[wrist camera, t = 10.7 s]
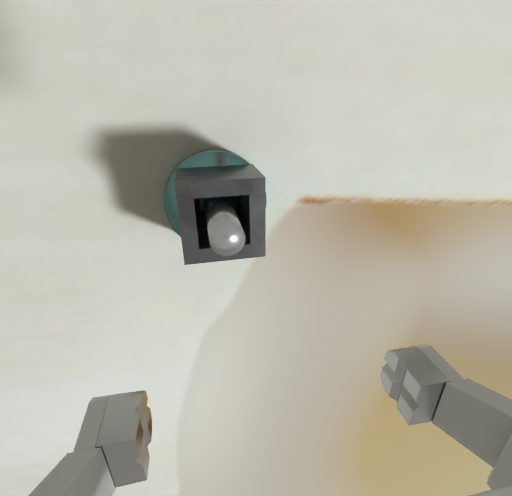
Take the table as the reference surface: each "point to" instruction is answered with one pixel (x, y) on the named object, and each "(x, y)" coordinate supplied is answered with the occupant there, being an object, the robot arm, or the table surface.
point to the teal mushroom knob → (212, 205)
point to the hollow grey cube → (219, 185)
